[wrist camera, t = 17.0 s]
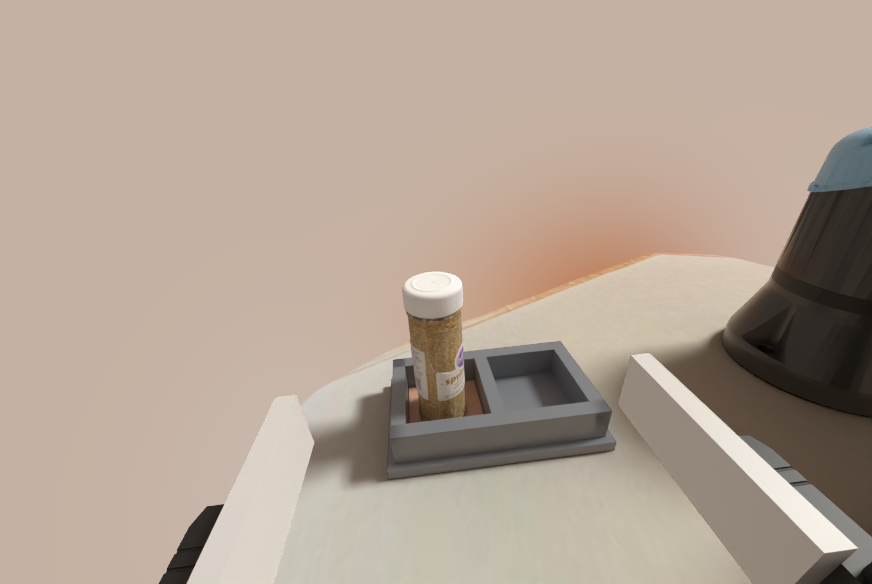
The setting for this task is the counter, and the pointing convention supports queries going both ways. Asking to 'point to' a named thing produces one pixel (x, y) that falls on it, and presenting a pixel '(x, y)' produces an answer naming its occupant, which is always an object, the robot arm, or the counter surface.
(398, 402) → the bottle caddy
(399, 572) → the counter surface
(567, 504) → the counter surface
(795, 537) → the robot arm
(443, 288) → the sprinkles bottle
